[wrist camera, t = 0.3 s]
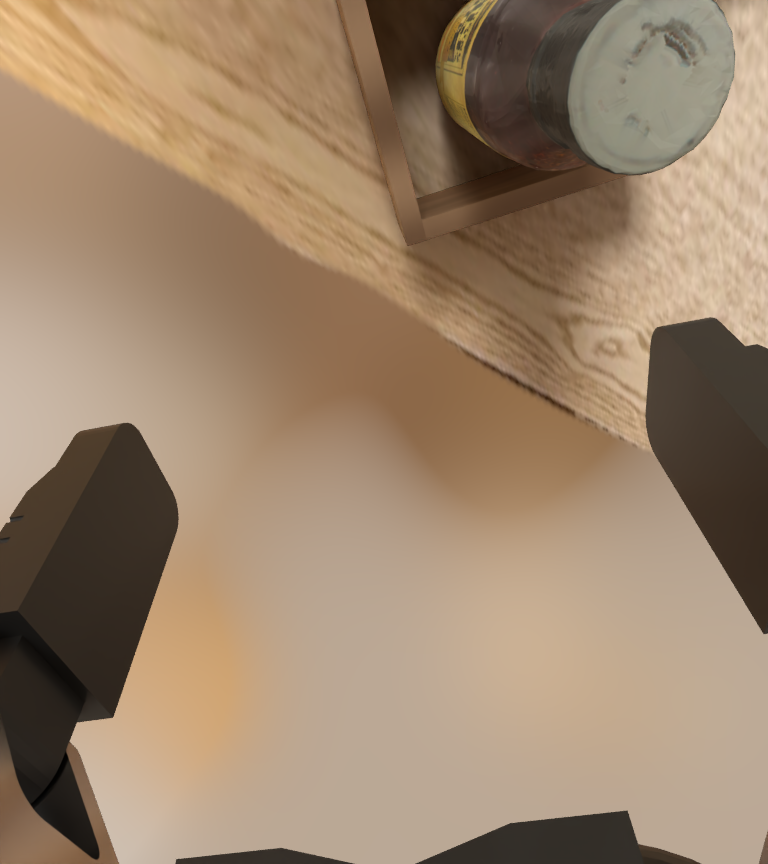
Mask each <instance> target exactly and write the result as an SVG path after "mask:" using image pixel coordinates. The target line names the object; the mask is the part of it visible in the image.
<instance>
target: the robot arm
mask: <svg viewBox="0 0 768 864" xmlns="http://www.w3.org/2000/svg"><path fill="white" fill-rule="evenodd" d="M646 427H647V433H648V438H649V441H650V444H651V447H652V449H653V452H654V454H655V456H656V457H657V459H658V460H659V462H660V464H661V465H662V467H663V469H664V470H665V472H666V474H667V475H668V477H669V478H670V480H671V482H672V484H673V485H674V487H675V488H676V490H677V492H678V493H679V495H680V497H681V499H682V500H683V502H684V503H685V505H686V507H687V508H688V510H689V512H690V513H691V515H692V517H693V518H694V520H695V521H696V523H697V525H698V527H699V528H700V530H701V531H702V533H703V535H704V536H705V538H706V540H707V541H708V543H709V545H710V546H711V548H712V550H713V551H714V553H715V555H716V556H717V558H718V560H719V561H720V563H721V564H722V566H723V568H724V569H725V571H726V573H727V574H728V576H729V578H730V579H731V581H732V583H733V584H734V586H735V588H736V589H737V591H738V593H739V594H740V596H741V597H742V599H743V601H744V602H745V604H746V606H747V607H748V609H749V611H750V612H751V614H752V616H753V617H754V619H755V621H756V622H757V624H758V625H759V627H760V628H761V630H762V632H763V634H767V633H768V349H767V348H765V347H763V346H760V345H758V344H756V345H751V346H744V345H743V344H742V343H741V342H740V341H739V340H738V339H737V338H736V337H735V336H734V335H733V334H732V333H731V332H730V331H729V330H728V329H727V328H726V327H725V326H724V325H723V324H722V323H721V322H720V321H718V320H717V319H715V318H705V319H699V320H694V321H688V322H683V323H677V324H672V325H666V326H661V327H657V328H656V329H655V331H654V332H653V335H652V339H651V346H650V360H649V374H648V388H647V402H646ZM177 528H178V508H177V503H176V499H175V497H174V494H173V492H172V490H171V488H170V486H169V484H168V483H167V481H166V479H165V477H164V475H163V473H162V472H161V470H160V468H159V466H158V464H157V462H156V461H155V459H154V457H153V455H152V453H151V451H150V450H149V448H148V446H147V444H146V442H145V441H144V439H143V437H142V435H141V433H140V432H139V430H138V429H137V428H136V427H135V426H134V425H132V424H130V423H122V424H116V425H111V426H105V427H100V428H95V429H89V430H84V431H80V432H79V433H77V434H76V435H75V437H74V438H73V440H72V441H71V443H70V444H69V446H68V447H67V449H66V451H65V452H64V454H63V455H62V457H61V458H60V460H59V462H58V463H57V465H56V466H55V467H54V468H52V470H50V471H49V472H48V473H47V474H46V475H45V476H44V477H43V478H41V479H40V480H39V481H38V482H37V483H36V484H35V485H34V486H33V487H31V489H29V490H28V491H27V492H26V494H25V495H24V497H23V498H22V500H21V501H20V503H19V504H18V506H17V507H16V509H15V510H14V512H13V513H12V515H11V517H10V522H9V523H6V524H5V526H4V527H3V529H2V530H1V532H0V864H119V862H118V859H117V857H116V854H115V851H114V848H113V846H112V843H111V840H110V837H109V835H108V832H107V829H106V826H105V823H104V821H103V818H102V815H101V812H100V809H99V807H98V804H97V801H96V798H95V795H94V793H93V790H92V787H91V785H90V782H89V779H88V776H87V773H86V771H85V768H84V765H83V762H82V759H81V757H80V754H79V752H78V750H77V749H76V748H75V747H74V746H73V745H72V744H71V743H70V742H69V741H70V739H71V736H72V733H73V731H74V728H75V726H76V723H77V722H84V721H91V720H99V719H106V718H113V716H114V713H115V711H116V707H117V705H118V702H119V698H120V696H121V693H122V690H123V687H124V684H125V681H126V678H127V675H128V672H129V670H130V667H131V664H132V661H133V658H134V655H135V652H136V649H137V646H138V643H139V640H140V637H141V634H142V631H143V628H144V626H145V623H146V620H147V617H148V614H149V611H150V608H151V605H152V602H153V599H154V596H155V593H156V590H157V588H158V584H159V582H160V579H161V576H162V573H163V570H164V567H165V564H166V561H167V558H168V555H169V552H170V549H171V546H172V543H173V541H174V538H175V534H176V532H177ZM176 864H353V863H348V862H343V861H339V860H334V859H330V858H325V857H320V856H316V855H311V854H306V853H302V852H297V851H293V850H288V849H283V848H277V849H268V850H258V851H249V852H241V853H231V854H221V855H212V856H203V857H194V858H184V859H177V860H176ZM416 864H700V863H698V862H696V861H694V860H692V859H689V858H686V857H683V856H680V855H677V854H674V853H670V852H668V851H665V850H661V849H658V848H654V847H649V846H644V845H639V844H638V843H637V840H636V837H635V834H634V830H633V827H632V824H631V820H630V818H629V814H628V811H620V812H611V813H603V814H593V815H583V816H574V817H564V818H555V819H546V820H537V821H528V822H518V823H510V824H508V825H505V826H503V827H501V828H498V829H496V830H494V831H491V832H489V833H487V834H484V835H482V836H480V837H477V838H475V839H473V840H470V841H468V842H466V843H463V844H461V845H458V846H456V847H454V848H451V849H449V850H447V851H444V852H442V853H440V854H437V855H435V856H433V857H430V858H428V859H426V860H423V861H421V862H419V863H416ZM759 864H768V832H767V836H766V839H765V842H764V846H763V850H762V853H761V857H760V861H759Z"/></svg>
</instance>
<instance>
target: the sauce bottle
mask: <svg viewBox="0 0 768 864" xmlns="http://www.w3.org/2000/svg"><path fill="white" fill-rule="evenodd" d="M734 65H735V51H734V46H733V36H732V31H731V29H730V27H729V25H728V23H727V21H726V18H725V16H724V13H723V11H722V10H721V9H720V8H719V6H718V4H717V3H716V2H715V1H713V0H470V1H468V2H467V3H466V4H465V5H463V6H462V7H461V8H460V9H459V10H458V12H457V13H456V14H455V15H454V17H453V18H452V19H451V20H450V22H449V24H448V25H447V27H446V29H445V31H444V33H443V36H442V38H441V41H440V44H439V48H438V53H437V58H436V81H437V87H438V91H439V94H440V97H441V100H442V102H443V105H444V107H445V108H446V110H447V112H448V113H449V115H450V116H451V117H452V119H453V120H454V121H455V122H456V123H457V124H458V125H460V126H461V127H463V128H464V129H465V130H467V131H468V132H469V133H471V134H472V135H474V136H475V137H476V138H478V139H479V140H480V141H482V142H483V143H485V144H486V145H488V146H489V147H490V148H492V149H493V150H495V151H496V152H498V153H499V154H501V155H503V156H505V157H507V158H509V159H512V160H513V161H516V162H517V163H519V164H521V165H524V166H526V167H530V168H534V169H536V170H544V171H556V170H566V169H571V168H576V167H579V166H582V165H584V164H586V163H588V164H590V165H592V166H594V167H596V168H599V169H602V170H605V171H607V172H610V173H613V174H622V175H642V174H647V173H651V172H655V171H657V170H660V169H663V168H665V167H666V166H668V165H670V164H672V163H673V162H675V161H676V160H678V159H679V158H681V157H682V156H684V155H685V154H687V153H688V152H690V151H691V150H693V149H694V148H695V147H696V146H697V145H698V144H699V143H700V142H701V141H702V140H703V139H704V138H705V137H706V135H707V134H708V132H709V131H710V130H711V128H712V127H713V125H714V124H715V122H716V121H717V119H718V118H719V115H720V112H721V109H722V107H723V105H724V103H725V101H726V99H727V96H728V93H729V90H730V87H731V84H732V81H733V78H734Z"/></svg>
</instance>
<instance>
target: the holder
mask: <svg viewBox="0 0 768 864" xmlns="http://www.w3.org/2000/svg"><path fill="white" fill-rule="evenodd" d="M336 1H337V5H338V8H339V12H340V15H341V19H342V23H343V26H344V30H345V33H346V37H347V41H348V44H349V48H350V51H351V55H352V59H353V62H354V66H355V69H356V73H357V77H358V80H359V84H360V87H361V91H362V95H363V98H364V102H365V105H366V109H367V113H368V116H369V120H370V123H371V127H372V131H373V134H374V138H375V141H376V145H377V149H378V152H379V156H380V159H381V163H382V167H383V170H384V174H385V177H386V181H387V185H388V188H389V192H390V195H391V199H392V203H393V206H394V210H395V213H396V217H397V221H398V224H399V227H400V229H401V231H402V234H403V236H404V238H405V241H406V243H407V246H409V245H413V244H416V243H419V242H422V241H425V240H428V239H431V238H434V237H437V236H441V235H444V234H447V233H450V232H453V231H456V230H459V229H462V228H466V227H469V226H472V225H475V224H478V223H481V222H484V221H487V220H490V219H494V218H497V217H500V216H503V215H506V214H509V213H512V212H515V211H518V210H522V209H525V208H528V207H531V206H534V205H537V204H540V203H543V202H546V201H550V200H553V199H556V198H559V197H562V196H565V195H568V194H571V193H575V192H578V191H581V190H584V189H587V188H590V187H593V186H596V185H599V184H603V183H606V182H609V181H612V180H615V179H618V178H621V177H624V176H627V175H622V174H613V173H610V172H607V171H605V170H602V169H599V168H596V167H594V166H592V165H590V164H588V163H586V164H584V165H582V166H579V167H576V168H571V169H566V170H556V171H544V170H536V169H534V168H530V167H526V166H524V165H519V166H516V167H513V168H510V169H507V170H504V171H501V172H497V173H494V174H491V175H488V176H485V177H482V178H479V179H476V180H473V181H470V182H467V183H464V184H461V185H458V186H455V187H452V188H449V189H446V190H443V191H439V192H436V193H433V194H430V195H427V196H424V197H421V198H418V199H416V196H415V192H414V188H413V184H412V180H411V176H410V172H409V168H408V165H407V161H406V157H405V153H404V149H403V145H402V141H401V137H400V133H399V130H398V126H397V122H396V118H395V114H394V110H393V106H392V102H391V98H390V95H389V91H388V87H387V83H386V79H385V75H384V71H383V67H382V64H381V60H380V56H379V52H378V48H377V44H376V40H375V36H374V32H373V29H372V25H371V21H370V17H369V13H368V9H367V5H366V1H365V0H336Z"/></svg>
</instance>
